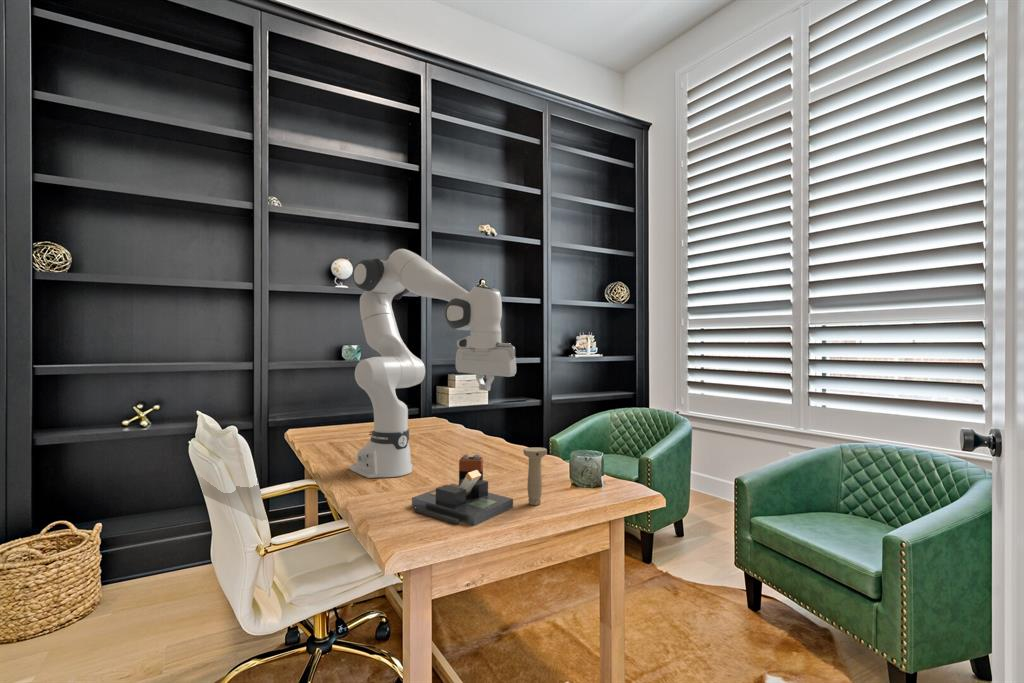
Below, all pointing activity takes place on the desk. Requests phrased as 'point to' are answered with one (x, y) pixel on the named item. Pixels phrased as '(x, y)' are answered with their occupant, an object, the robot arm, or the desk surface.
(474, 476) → the lever
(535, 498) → the handle
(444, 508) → the panel
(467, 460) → the battery
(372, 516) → the desk surface
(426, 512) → the dark grey flat slab
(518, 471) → the desk surface
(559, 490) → the desk surface
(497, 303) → the robot arm
